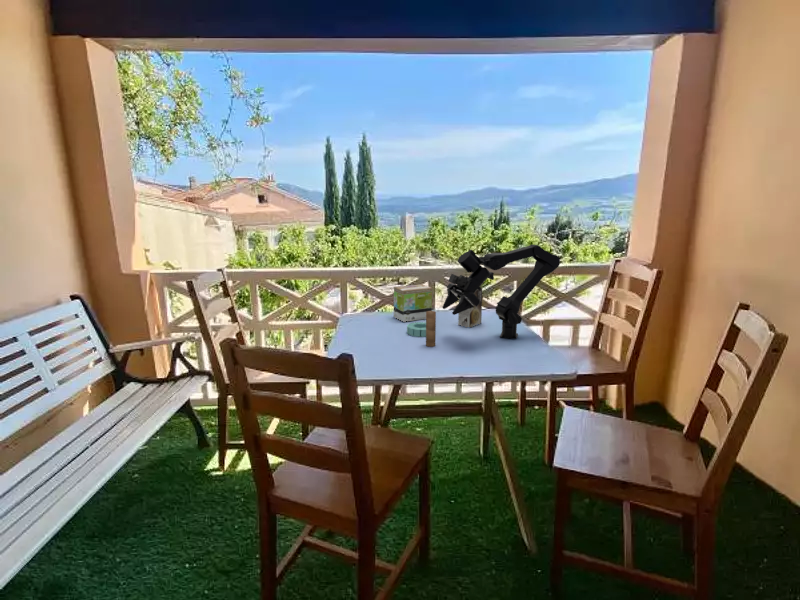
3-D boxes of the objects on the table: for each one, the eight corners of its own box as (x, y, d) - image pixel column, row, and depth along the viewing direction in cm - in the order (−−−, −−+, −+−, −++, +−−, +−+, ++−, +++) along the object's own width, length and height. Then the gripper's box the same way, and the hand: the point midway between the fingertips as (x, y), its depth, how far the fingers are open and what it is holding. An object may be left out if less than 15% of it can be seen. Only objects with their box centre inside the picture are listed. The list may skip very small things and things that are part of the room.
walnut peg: (427, 343, 176) (427, 310, 173) (436, 344, 174) (436, 311, 171) (424, 346, 172) (424, 312, 169) (434, 347, 171) (434, 313, 168)
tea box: (403, 323, 203) (403, 290, 200) (393, 317, 212) (392, 286, 209) (432, 318, 210) (432, 287, 207) (421, 313, 219) (421, 283, 216)
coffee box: (469, 321, 205) (470, 285, 202) (481, 323, 201) (483, 287, 197) (457, 325, 199) (458, 289, 195) (469, 328, 195) (470, 291, 191)
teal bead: (412, 328, 196) (412, 321, 195) (437, 330, 192) (437, 323, 191) (403, 335, 185) (403, 328, 185) (430, 338, 182) (430, 330, 181)
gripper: (451, 262, 179) (425, 292, 178) (473, 270, 162) (443, 303, 161) (469, 281, 183) (443, 310, 182) (492, 290, 166) (463, 322, 165)
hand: (447, 311), depth 172 cm, fingers open, 9 cm apart
